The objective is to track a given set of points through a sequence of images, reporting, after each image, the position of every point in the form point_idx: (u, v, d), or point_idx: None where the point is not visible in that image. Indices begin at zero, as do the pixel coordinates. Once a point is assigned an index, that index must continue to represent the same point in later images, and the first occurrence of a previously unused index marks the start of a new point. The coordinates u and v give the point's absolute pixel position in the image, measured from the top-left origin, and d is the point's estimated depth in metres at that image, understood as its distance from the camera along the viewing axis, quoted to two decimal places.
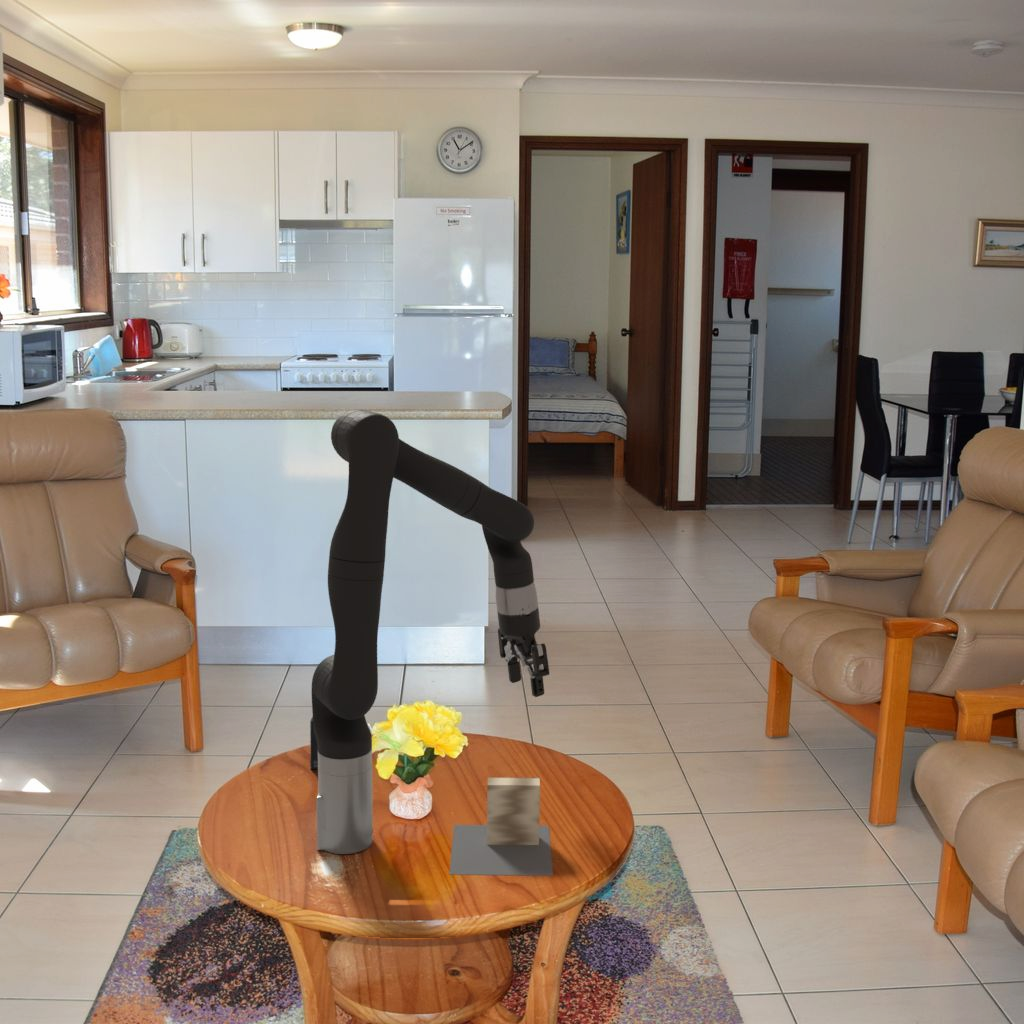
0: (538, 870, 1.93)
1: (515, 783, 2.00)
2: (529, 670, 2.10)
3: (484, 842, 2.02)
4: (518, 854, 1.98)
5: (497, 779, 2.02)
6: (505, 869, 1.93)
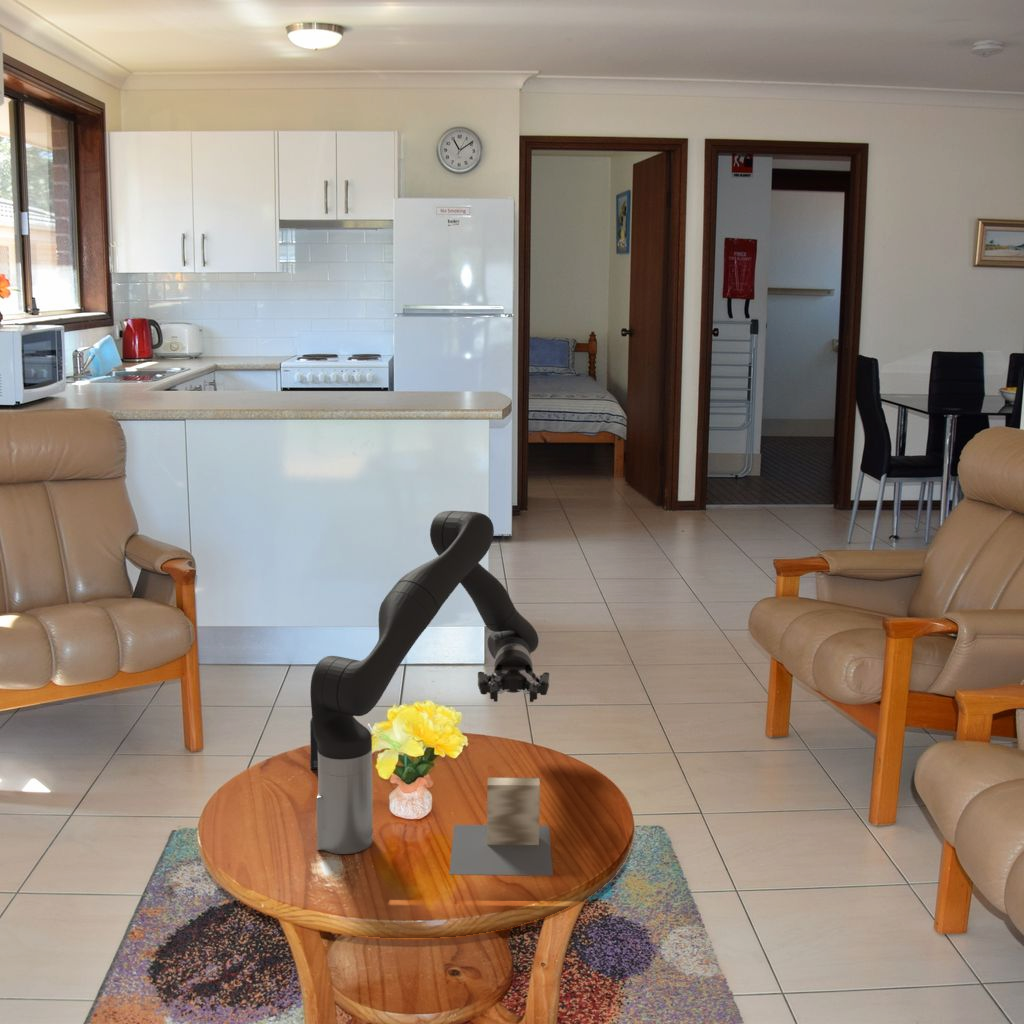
0: (538, 870, 1.93)
1: (515, 783, 2.00)
2: (531, 681, 2.17)
3: (484, 842, 2.02)
4: (518, 854, 1.98)
5: (497, 779, 2.02)
6: (505, 869, 1.93)
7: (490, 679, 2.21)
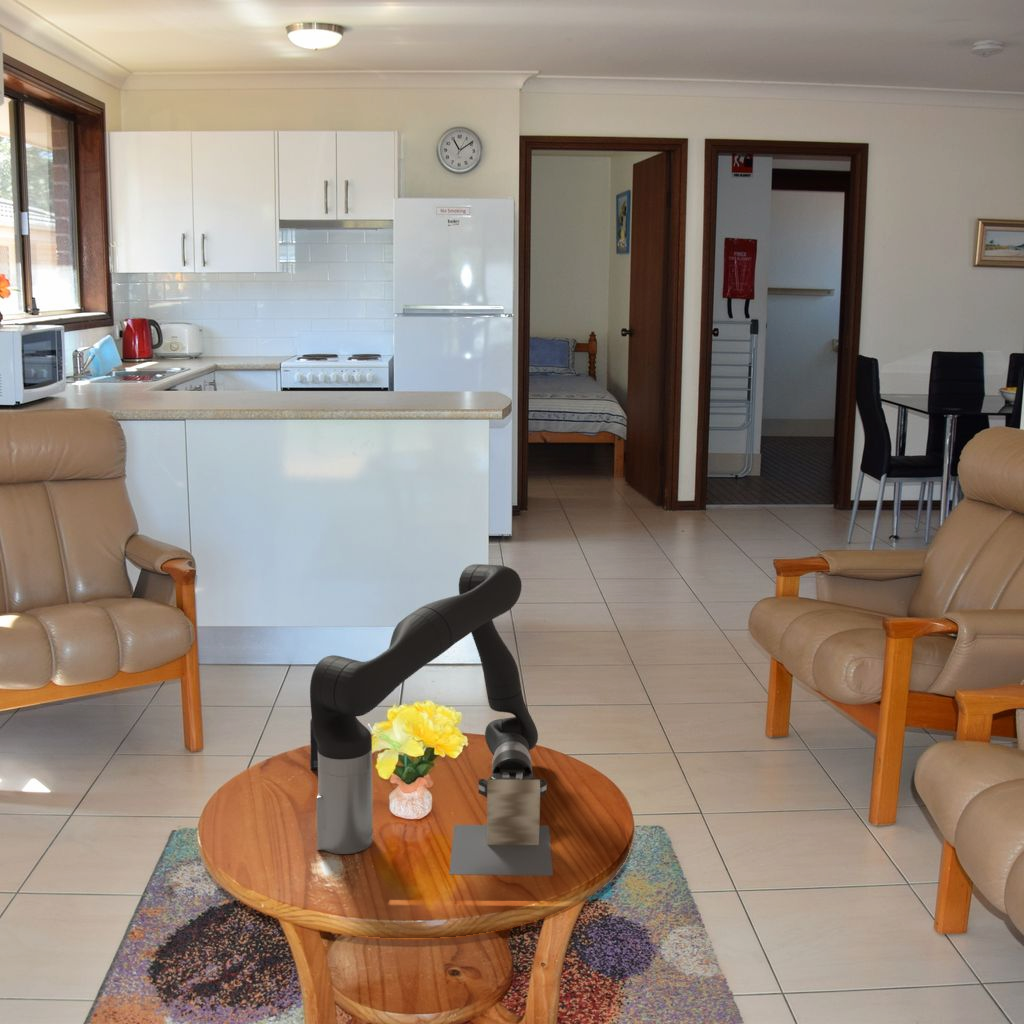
0: (538, 870, 1.93)
1: (515, 786, 1.99)
2: None
3: (484, 842, 2.02)
4: (518, 854, 1.98)
5: (497, 781, 2.00)
6: (505, 869, 1.93)
7: None
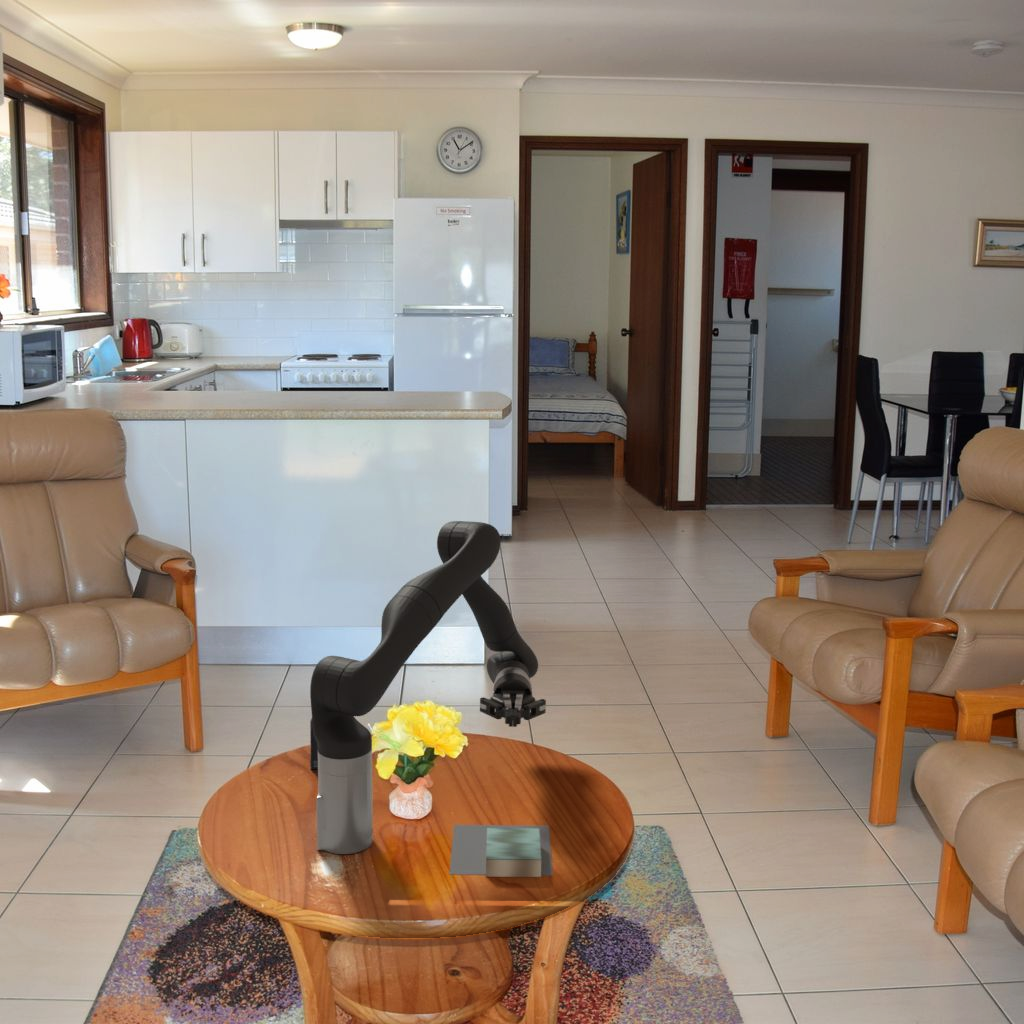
0: None
1: (515, 872, 1.90)
2: (518, 705, 2.14)
3: (484, 842, 2.02)
4: None
5: (496, 863, 1.90)
6: None
7: None
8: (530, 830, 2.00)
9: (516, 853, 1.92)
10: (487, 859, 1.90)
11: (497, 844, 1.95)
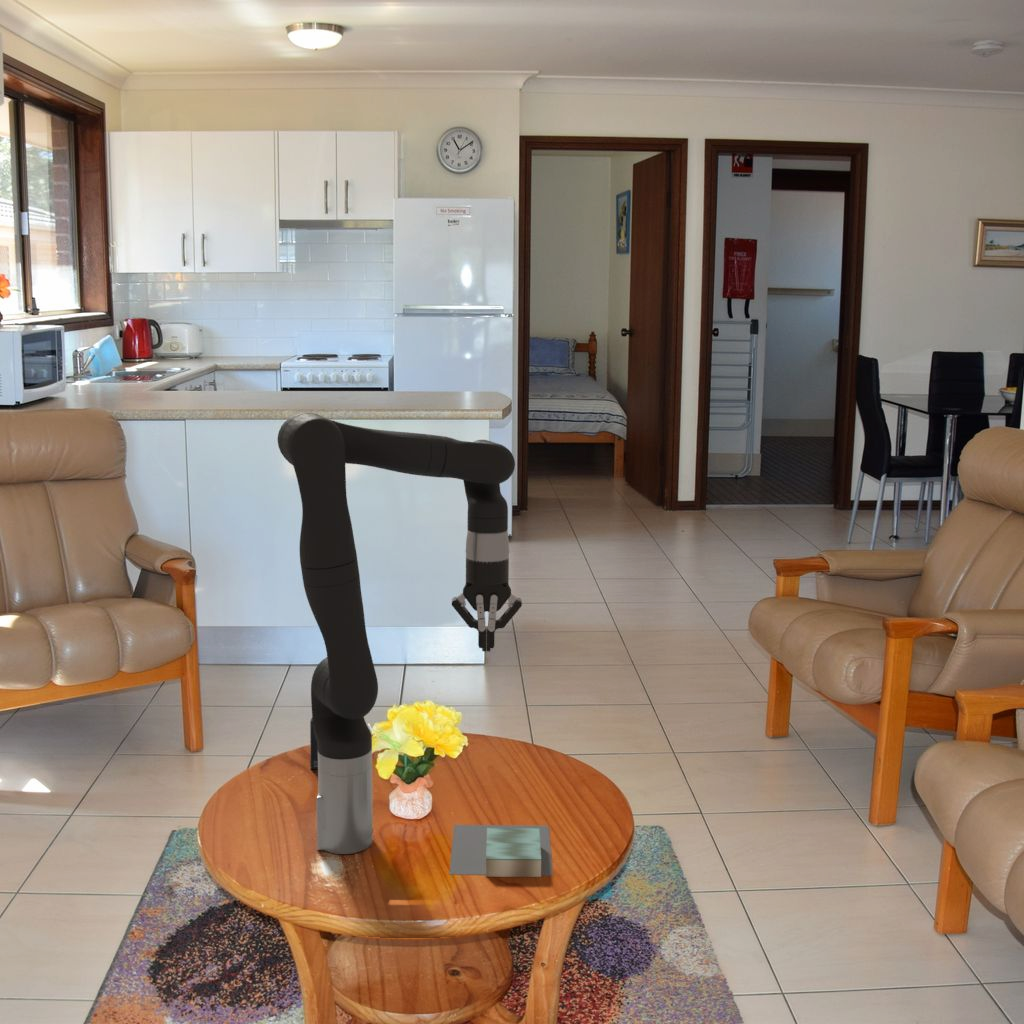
0: None
1: (515, 872, 1.90)
2: (491, 622, 2.05)
3: (484, 842, 2.02)
4: None
5: (496, 863, 1.90)
6: None
7: None
8: (530, 830, 2.00)
9: (516, 853, 1.92)
10: (487, 859, 1.90)
11: (497, 844, 1.95)
